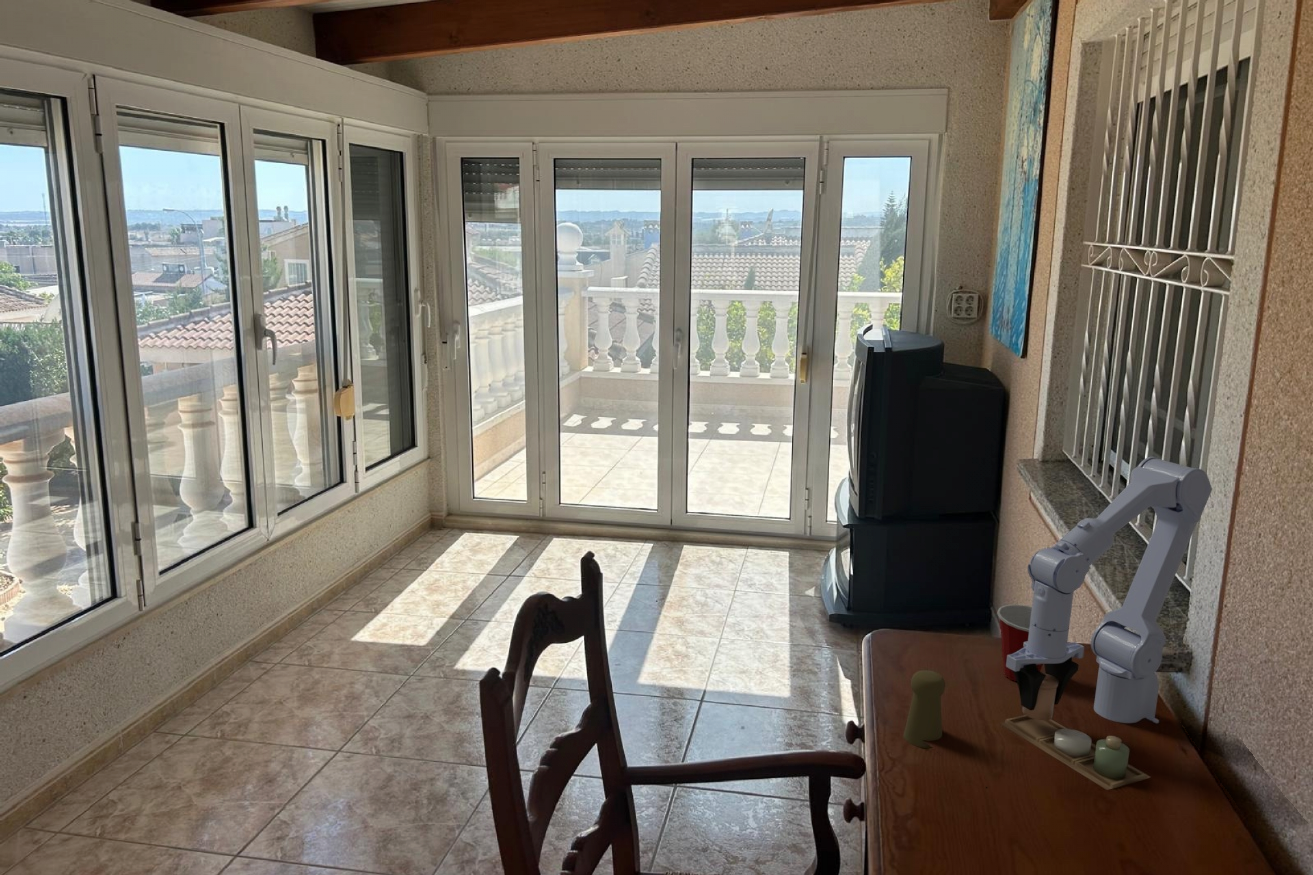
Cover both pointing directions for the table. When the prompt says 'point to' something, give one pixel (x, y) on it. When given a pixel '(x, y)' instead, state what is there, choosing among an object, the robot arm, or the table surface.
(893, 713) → the table surface
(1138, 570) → the robot arm
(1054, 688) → the spice jar
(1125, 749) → the green jar
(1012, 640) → the plastic cup
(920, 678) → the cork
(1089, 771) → the tray
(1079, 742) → the white rounded disc
